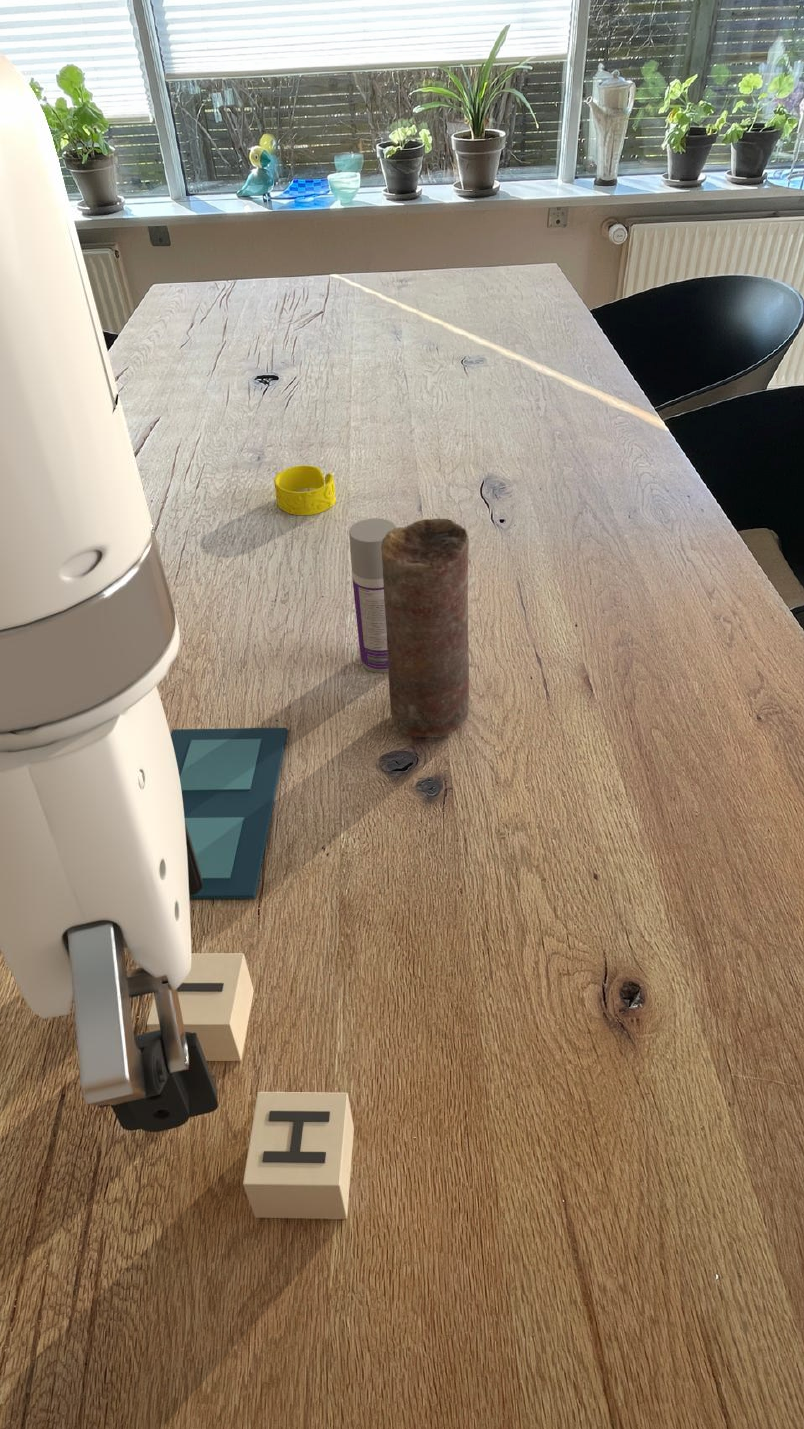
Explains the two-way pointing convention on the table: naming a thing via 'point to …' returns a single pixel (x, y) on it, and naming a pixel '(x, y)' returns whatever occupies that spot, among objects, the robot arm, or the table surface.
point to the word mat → (228, 802)
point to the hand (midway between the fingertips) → (168, 992)
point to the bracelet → (306, 500)
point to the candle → (427, 626)
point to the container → (370, 591)
